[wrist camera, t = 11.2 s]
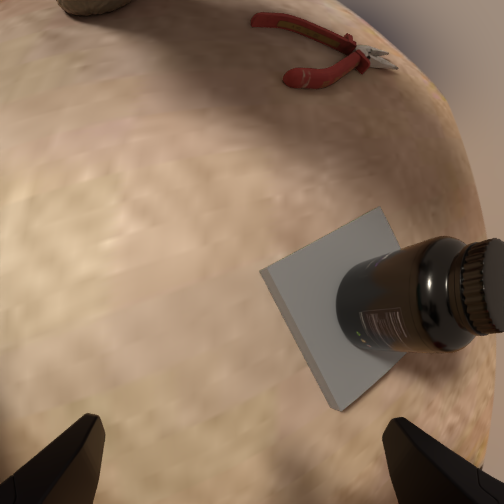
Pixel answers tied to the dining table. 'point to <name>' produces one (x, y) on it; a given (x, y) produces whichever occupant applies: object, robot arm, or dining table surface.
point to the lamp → (91, 6)
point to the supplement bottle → (424, 297)
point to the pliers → (357, 54)
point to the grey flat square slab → (332, 306)
